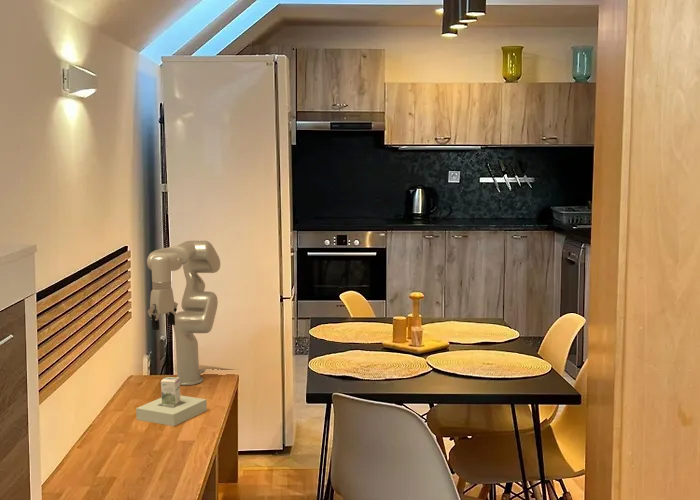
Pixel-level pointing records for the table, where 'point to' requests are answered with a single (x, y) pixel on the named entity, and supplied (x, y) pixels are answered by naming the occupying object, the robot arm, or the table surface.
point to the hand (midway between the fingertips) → (163, 327)
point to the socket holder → (171, 411)
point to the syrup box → (170, 392)
